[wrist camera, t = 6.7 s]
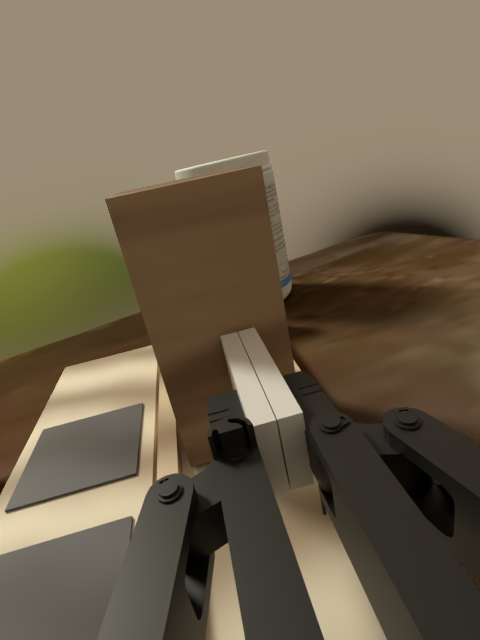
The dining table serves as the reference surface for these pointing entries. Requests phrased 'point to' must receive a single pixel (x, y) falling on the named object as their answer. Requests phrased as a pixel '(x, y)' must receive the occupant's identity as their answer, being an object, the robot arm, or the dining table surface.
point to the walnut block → (202, 283)
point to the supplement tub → (272, 200)
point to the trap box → (132, 513)
